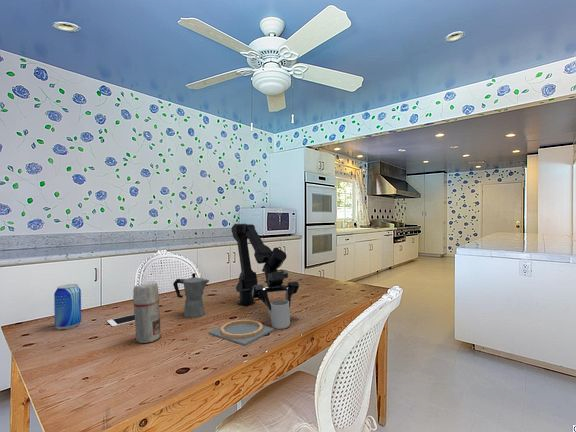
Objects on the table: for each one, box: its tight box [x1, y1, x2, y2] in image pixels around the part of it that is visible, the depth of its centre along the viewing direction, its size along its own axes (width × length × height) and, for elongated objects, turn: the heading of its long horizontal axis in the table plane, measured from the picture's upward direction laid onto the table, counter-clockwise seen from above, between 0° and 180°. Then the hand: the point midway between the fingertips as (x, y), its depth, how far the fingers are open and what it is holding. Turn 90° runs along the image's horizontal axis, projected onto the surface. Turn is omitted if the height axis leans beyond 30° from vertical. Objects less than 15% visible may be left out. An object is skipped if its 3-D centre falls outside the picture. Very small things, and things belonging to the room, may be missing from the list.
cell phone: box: [106, 313, 135, 328], centre depth 126 cm, size 9×18×1 cm, turn 134°
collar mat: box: [208, 318, 276, 347], centre depth 110 cm, size 18×16×2 cm
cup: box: [267, 299, 291, 330], centre depth 117 cm, size 7×10×9 cm
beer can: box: [53, 283, 82, 330], centre depth 118 cm, size 8×8×16 cm
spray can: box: [132, 280, 162, 344], centre depth 105 cm, size 8×8×20 cm
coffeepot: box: [172, 272, 210, 319], centre depth 130 cm, size 15×9×18 cm, turn 92°
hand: (280, 308), depth 115 cm, fingers closed on cup, 7 cm apart
